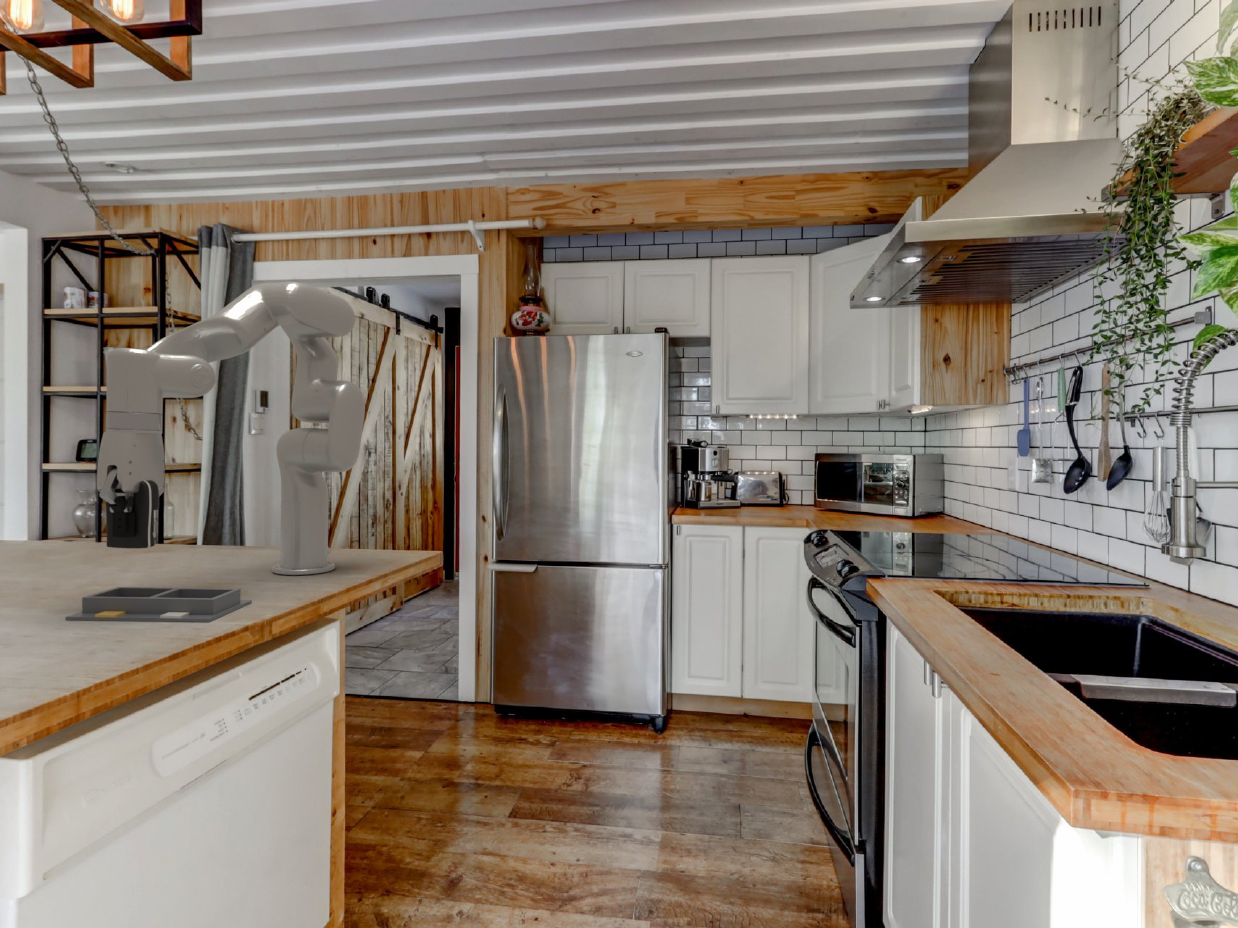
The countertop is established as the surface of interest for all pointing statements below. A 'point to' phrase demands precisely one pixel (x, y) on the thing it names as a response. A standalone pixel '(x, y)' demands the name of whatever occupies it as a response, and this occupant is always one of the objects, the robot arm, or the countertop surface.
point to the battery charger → (137, 518)
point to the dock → (160, 604)
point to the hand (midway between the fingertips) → (133, 534)
